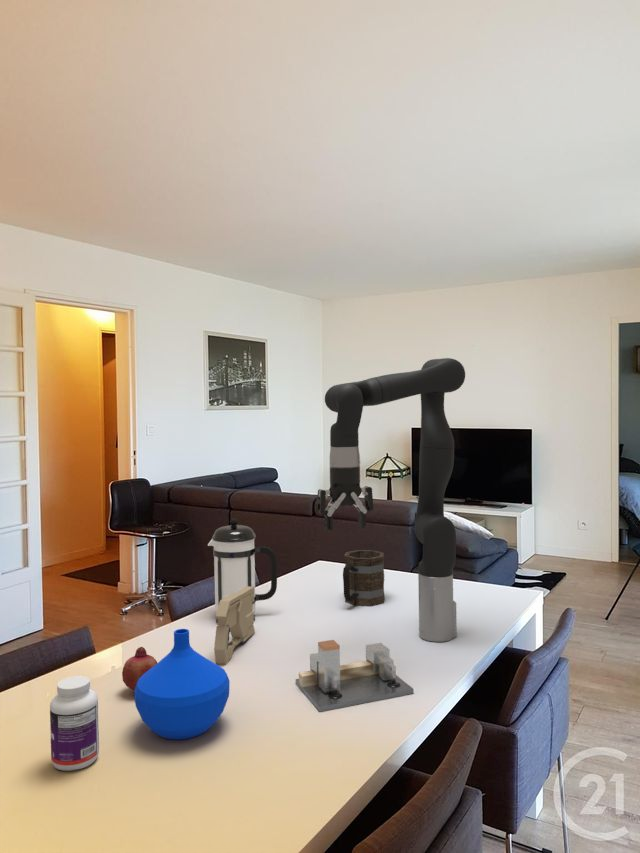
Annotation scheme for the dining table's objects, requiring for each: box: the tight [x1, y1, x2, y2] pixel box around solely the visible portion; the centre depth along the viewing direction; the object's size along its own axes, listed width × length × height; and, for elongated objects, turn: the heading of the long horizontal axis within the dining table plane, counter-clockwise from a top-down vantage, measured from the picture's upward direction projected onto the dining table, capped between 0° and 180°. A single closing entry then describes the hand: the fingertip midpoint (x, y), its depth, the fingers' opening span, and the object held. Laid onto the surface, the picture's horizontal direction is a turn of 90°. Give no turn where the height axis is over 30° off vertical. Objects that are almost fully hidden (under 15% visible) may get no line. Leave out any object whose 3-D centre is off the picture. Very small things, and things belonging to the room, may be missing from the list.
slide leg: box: [309, 639, 341, 695], centre depth 143 cm, size 4×11×10 cm, turn 21°
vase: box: [133, 628, 230, 741], centre depth 128 cm, size 18×18×19 cm
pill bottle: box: [49, 675, 100, 772], centre depth 116 cm, size 8×8×14 cm
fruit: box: [121, 646, 158, 691], centre depth 145 cm, size 8×8×10 cm
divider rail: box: [298, 660, 379, 687], centre depth 149 cm, size 22×2×2 cm, turn 111°
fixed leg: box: [365, 642, 397, 684], centre depth 149 cm, size 4×11×5 cm, turn 21°
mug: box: [342, 549, 386, 607], centre depth 208 cm, size 20×14×15 cm
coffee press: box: [207, 517, 278, 624], centre depth 196 cm, size 17×16×30 cm
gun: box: [213, 586, 256, 666], centre depth 171 cm, size 24×3×15 cm, turn 168°
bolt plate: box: [295, 674, 414, 713], centre depth 145 cm, size 22×15×1 cm
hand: (345, 529), depth 162 cm, fingers open, 8 cm apart
